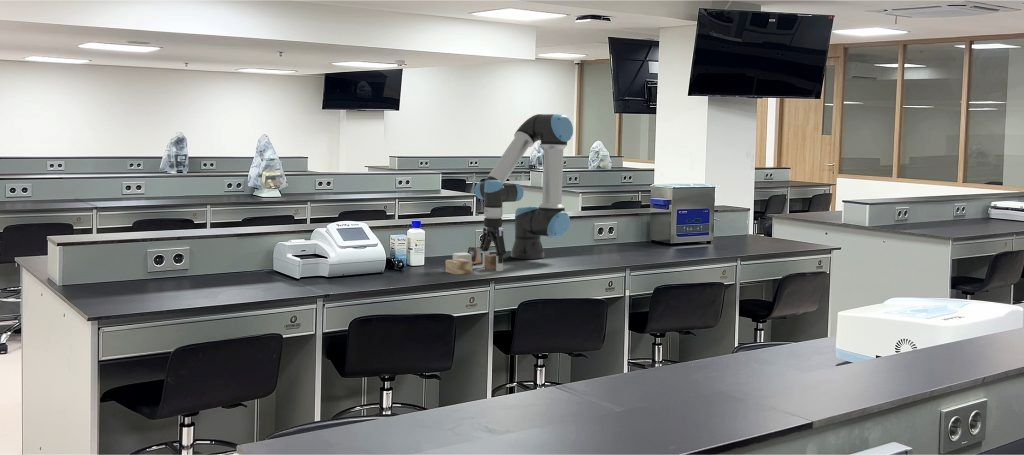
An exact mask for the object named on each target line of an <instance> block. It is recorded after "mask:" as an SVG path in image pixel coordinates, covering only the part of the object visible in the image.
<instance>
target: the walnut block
mask: <svg viewBox="0 0 1024 455" xmlns="http://www.w3.org/2000/svg"><path fill="white" fill-rule="evenodd" d="M496 254H497V253H495V254H494V253H493V254H490V253H489V255H485V267H484V270H487V269H488V270H487V271H490V270H493V271H496Z"/></svg>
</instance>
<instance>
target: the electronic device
mask: <svg viewBox="0 0 1024 455" xmlns="http://www.w3.org/2000/svg"><path fill="white" fill-rule="evenodd" d="M467 253H469V254H472V265H474V264H476V265H479V264H481V263H482V255H481V254H482V253H481V249H480V247H476V246H469V247H468V249H467ZM478 263H479V264H478ZM474 266H475V265H474Z"/></svg>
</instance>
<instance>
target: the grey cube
mask: <svg viewBox="0 0 1024 455" xmlns="http://www.w3.org/2000/svg"><path fill="white" fill-rule="evenodd" d="M453 259H466V260H469V261H472V254H469V253H468V252H453V253H452V260H453Z"/></svg>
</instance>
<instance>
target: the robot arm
mask: <svg viewBox="0 0 1024 455" xmlns="http://www.w3.org/2000/svg"><path fill="white" fill-rule="evenodd" d="M573 134H574V126H573V122H572V121H571V120H570V118H569V116H567V115H564V114H560V113H559V114H558V113H554V114H553V113H551V114H549V113H546V114H544V113H540V114H539V113H537V114H534V115H532V116H530V117H529V118H528V119H526V120H525V121H524V122H522V124H521V125H520V126H519V127H518V128H517V129H516V130H515V133H514V136H513V137H514V138H513V140H512V141H511V142H510V144H509V145H508V146H507V148H506V149H505V151H504V152H503V154H501V155H502V156H501V157H500V158H499V160H498V161H497V162H496V163H495V165H494V167H493V168H492V170H491V171H490V172H489V174H488V176H487V177H486V178H485V180H484V181H479V182H477V183H476V184H475V185H474V188H473V190H474V195H475V197H476V198H478V199H480V200H483V201H484V202H483V204H484V205H483V207H484V208H483V214H484V219H483V228H482V229H483V230H482V236H481V240H480V245H479V246H480V247H479V248H480V250H481V251H482V267H483V268H485V255H490V251H491V250H490V247H491V244H492V243H493V244H494V248H495V250H496V251H495V252H496V253H495V254H496V270H495V271H496V272H503V271H504V256H505V255H506V254H507V250H506V246H505V240H504V231H503V230H500V228H501V227H503V218H502V217H503V203H510V202H511V203H513V202H519V201H521V200H522V199H523V197H524V189H523V186H522V185H521V184H519V183H506V181H507V179H508V178H509V177H510V175H511V174H512V172H513V171H514V169H515V168H516V167H517V165H518V164H519V162H520V161H521V160H522V158H523V156H524V155H525V154H526V152H527V150H528V149H529V148H531V147H533V146H534V145H535V143H536V142H538V141H540V145H541V147H542V148H543V170H542V171H543V172H542V194H541V196H542V197H541V198H542V200H541V203H540V204H539V205H535V206H524V207H523V206H522V207H517V208H516V209H515V212H514V213H515V215H514V241H513V245H512V247H511V251H510V257H511V258H514V259H521V260H522V259H523V260H537V259H538V260H539V259H542V258H545V251H544V248H543V244H542V241H541V237H549V238H560V237H563V236H565V234H566V233H567V232H568V230H569V227H570V223H571V220H570V216H569V214H568V213H567V211H565V208H566V207H565V206H564V204H563V203H562V198H563V197H562V195H563V175H564V173H563V172H564V170H563V167H564V149H565V148H566V147H567V146H568V141H570V140H571V139H572V137H573Z"/></svg>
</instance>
